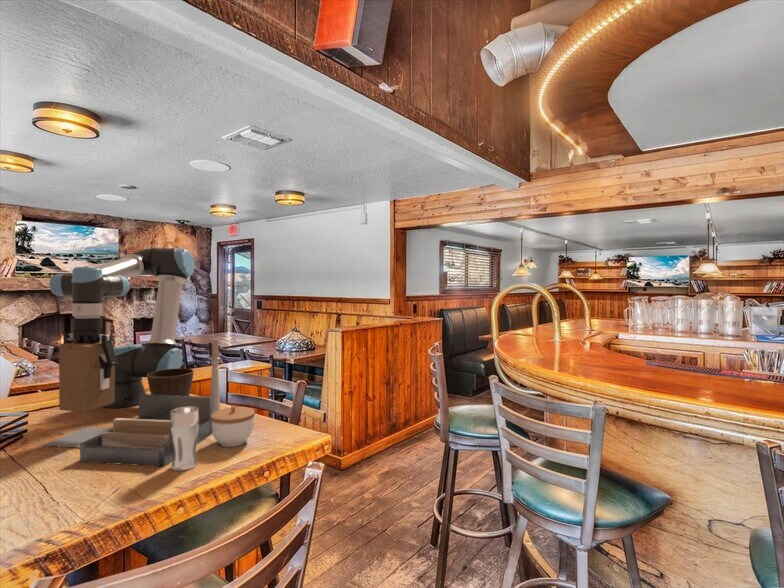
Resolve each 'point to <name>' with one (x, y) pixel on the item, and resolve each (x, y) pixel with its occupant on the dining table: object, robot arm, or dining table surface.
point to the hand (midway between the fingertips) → (87, 388)
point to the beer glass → (184, 437)
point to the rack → (154, 410)
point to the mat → (77, 437)
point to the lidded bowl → (232, 425)
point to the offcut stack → (137, 433)
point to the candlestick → (215, 377)
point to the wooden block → (82, 378)
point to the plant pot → (171, 382)
